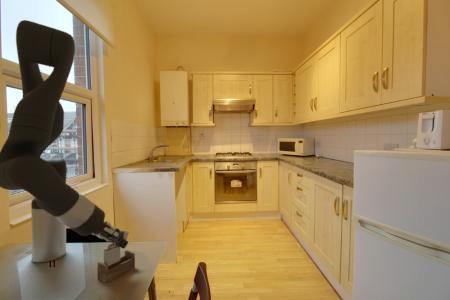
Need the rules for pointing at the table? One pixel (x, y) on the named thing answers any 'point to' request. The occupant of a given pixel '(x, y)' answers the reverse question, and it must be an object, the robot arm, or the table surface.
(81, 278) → the table surface
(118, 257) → the lighter
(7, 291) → the table surface
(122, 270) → the open wooden box
